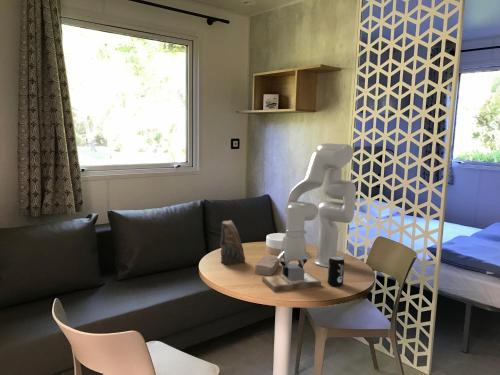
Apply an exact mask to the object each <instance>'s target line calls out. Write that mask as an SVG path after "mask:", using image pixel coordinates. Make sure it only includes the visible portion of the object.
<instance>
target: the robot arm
mask: <svg viewBox="0 0 500 375" xmlns="http://www.w3.org/2000/svg"><path fill="white" fill-rule="evenodd" d="M353 156H354V149H353V147H352V145H350V144H348V143H330V142H329V143H321V144H319V145H317V148H316V150H314V151H313V152H312V154H311V157H310V160H309V163H308V165H307V166H308V167H307V169H306V172H305V175H304V178H303V179H302V180H301V181H300V182H298V183H297V184H296V185H295V186H294V187H293V188H292V189H291V191H290V193H289V194H288V197H287V199H286V204H285V207H284V212H285V215H286V227H285V234H286V236H284V238H283V242H282V248H281V254H280V255H279V256H278V257H277V260H278V261H279V262H280V263H279V264H280V265H281V267H282V266H283V274H284V276H286V277H288V267H287V266H288V264H290V262H297V263H298V264H297V265H298V266H299V267H301V268H302V269H304V266H305V264H306V263H307V262H308V261H309V259H310V258H311V256H310V254H308V252H307V243H306V242H307V241H306V237H305V234H307V230H305V222H307V221H309V222H310V221H313V220H315V219H316V218H317V217H318V236H317V237H318V239H317V255H316V258H314V259H313V264H315V265H316V266H319V267H325V268H328V265H329V259H330V256H341V257H343V258H344V260H345V259H346V257H345V255H340V254H338V241H339V228H338V225H337V223H343V224H349V223H351V222H352V221H353V220H354V217H355V209H356V208H355V207H356V196H357V188H356V185H355V183H354V181H351V180H343V179H342V177H343V176H342V174H343V173H342V172H343V169H344V167H346V165H348V164H349V163H350V162H351V161H352V159H353ZM321 187H322V194H323V196H324V197H325V198H328V199H332V200H324V201H322V202H319V205H318V206H317V205H316V204H314V203H311V202H305V201H298V200H299V199H300V197H301V196H303V195H304V194H305V193H307V192H309V191H313V190H315V189H318V188H321ZM333 200H340V201H343V202H339V201H333ZM282 259H283V260H282Z"/></svg>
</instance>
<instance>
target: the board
mask: <svg viewBox="0 0 500 375" xmlns="http://www.w3.org/2000/svg"><path fill="white" fill-rule="evenodd" d="M261 280H262V281H261V282H262V283H263V284H264V285H265V286H267V287H268V288H269V289H270V290H271V291H272V292H273V293H275V292H282V291H291V290H299V289H300V290H301V289H308V288H317V287H321V286H322V281H321V280H320V279H318V278H317V277H315V276H313V275H312V274H310V273H309V272H306V271H304V281H303V282H294V283H291V282H289V281H288V280H287V279H285V278H284V277H283V276H282V274H277V275H271V276H269V275H266V276H262V278H261Z"/></svg>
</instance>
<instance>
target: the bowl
mask: <svg viewBox="0 0 500 375" xmlns="http://www.w3.org/2000/svg"><path fill="white" fill-rule="evenodd" d="M284 236H286V233H284V232H283V233H282V232H277V233H275V232H274V233H270V234H267V235H266V240H265V242H266V243H265V244H266V246H265V251H266V253H267V254H269V255H271V256H279V255H280V254H281V248H282V242H283V238H284Z"/></svg>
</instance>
